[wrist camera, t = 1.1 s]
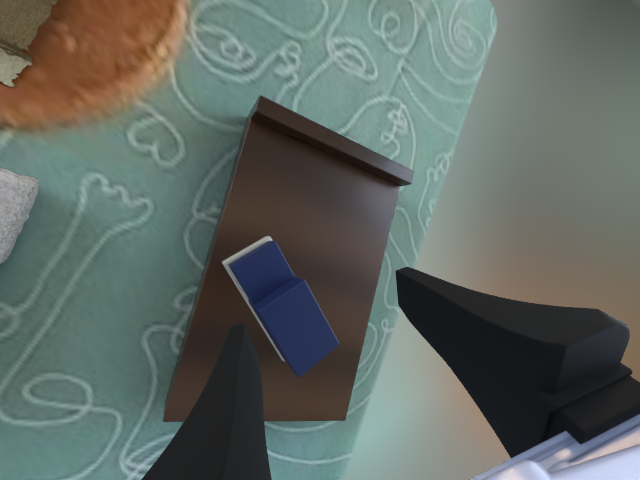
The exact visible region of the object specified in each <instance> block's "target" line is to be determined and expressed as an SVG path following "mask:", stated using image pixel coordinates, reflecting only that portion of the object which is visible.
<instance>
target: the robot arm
mask: <svg viewBox="0 0 640 480" xmlns="http://www.w3.org/2000/svg"><path fill="white" fill-rule="evenodd" d="M396 281H397V292H398V304H399V306H400V308H401V309H402V311H403V312H404V313H405V315H406V317H407V318H408V319H409V321H410V322H411V323H412V325H413V326H414V327H415V328H416V329H417V330H418V331H419V333H420V334H421V335H422V336H423V337H424V338H425V339H426V340H427V342H428V343H429V344H430V345H431V346H432V347H433V348H434V349H435V350H436V352H437V353H438V354H439V355H440V356H441V357H442V358H443V359H444V361H445V362H446V363H447V364H448V366H449V367H450V368H451V369H452V371H453V372H454V374H455V375H456V376H457V378H458V379H459V380H460V382H461V383H462V384H463V386H464V387H465V389H466V390H467V391H468V393H469V394H470V396H471V397H472V399H473V400H474V402H475V403H476V404H477V406H478V407H479V409H480V410H481V412H482V413H483V415H484V416H485V418H486V419H487V421H488V422H489V424H490V425H491V427H492V428H493V430H494V431H495V433H496V435H497V436H498V438H499V439H500V441H501V443H502V444H503V446H504V447H505V449H506V451H507V452H508V454H509V455H510V457H511V459H509V460H507V461H505V462H503V463H501V464H499V465H497V466H495V467H493V468H491V469H489V470H487V471H485V472H483V473H481V474H479V475H477V476H475V477H473V478H471V479H469V480H640V382H638V381H637V380H635V379H634V378H632V377H631V376H630V375H631V374H632V370H631V369H630V368H628V367H626V366H625V365H623V364H622V363H620V361H621V359H622V357H623V354H624V352H625V349H626V347H627V344H628V341H629V335H630V334H629V329H628V327H627V325H626V324H625V323H622V322H621V321H619V320H617V319H615V318H613V317H612V316H610V315H608V314H606V313H604V312H602V311H600V310H598V309H590V308H574V307H559V306H550V305H542V304H534V303H528V302H522V301H516V300H511V299H505V298H501V297H497V296H493V295H489V294H484V293H481V292H477V291H474V290H470V289H467V288H464V287H461V286H458V285H455V284H452V283H449V282H446V281H444V280H441V279H439V278H436V277H433V276H430V275H428V274H426V273H423V272H420V271H418V270H415V269H412V268H410V267H405V268H402V269H399V270H396ZM141 480H271V474H270V467H269V461H268V454H267V447H266V439H265V425H264V407H263V389H262V376H261V370H260V365H259V359H258V355H257V352H256V350H255V347H254V345H253V343H252V340H251V338H250V335H249V333H248V330H247V328H246V325H245V323H241V324H238V325H235V326H232V327H230V328H229V330H228V333H227V335H226V338H225V341H224V344H223V346H222V349H221V351H220V354H219V356H218V359H217V361H216V363H215V366H214V368H213V370H212V372H211V374H210V376H209V378H208V380H207V382H206V384H205V387H204V389H203V391H202V392H201V394H200V396H199V398H198V400H197V401H196V403H195V405H194V407H193V408H192V410H191V412H190V413H189V415H188V417H187V418H186V420H185V421H184V423H183V424H182V426H181V427H180V429H179V430H178V432H177V433H176V435H175V436H174V438H173V439H172V441H171V442H170V444H169V445H168V446H167V448H166V449H165V450H164V452H163V453H162V454H161V456H160V457H159V458H158V460H157V461H156V462H155V463H154V465H153V466H152V467H151V468H150V470H149V471H148V472H147V473H146V475H145V476H144V477H143V478H142V479H141Z"/></svg>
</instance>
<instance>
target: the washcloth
mask: <svg viewBox="0 0 640 480" xmlns="http://www.w3.org/2000/svg"><path fill="white" fill-rule="evenodd" d="M38 181H39V180H38V179H36V178H32V177H27V176H24V175H23V176H20V175H18V174H16V173H13V172H10V171H8V170H6V169H1V168H0V264H1V263H3V262H5V261H6V260H7V258H8V256H9V255H10V253H11V252H12V250H13V248H14V246H15V243H16V239H17V237H18V236H19V235H20V233H21V231H22V229H23V224H24V223H25V222H26V221H27V220H28V219H29V212H30V211H31V209H32V206H33V204H34V200H35V198H36V196H37V194H38V192H39V184H38Z"/></svg>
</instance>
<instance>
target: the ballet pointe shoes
mask: <svg viewBox="0 0 640 480" xmlns="http://www.w3.org/2000/svg"><path fill="white" fill-rule="evenodd" d="M57 1H58V0H0V82H3V83H4V84H5V85H8V86H10V87H14V84H13V83H12V79H16V77H18V76H17V75H16V74H15V73H21V71H22V69H24V68H25V67H26V66H27V64H28V65H32V62H31V60H32V58H31V57H30V56H29V55H27V54H26V53H24V52H22V51H21V50H22V49H25V50H29V49H28V47H27V46H28V45H30V44H31V40H32V39H35V38H34V37H35V34H37V27H39V26H40V25H41V24H44V23H45V21H46V19H47V18H48V17H49V16H50V13H51V12H52V11H51V10H50V9H49V8H50V7H53V4H56V2H57ZM40 23H41V24H40ZM39 28H40V27H39ZM33 67H34V66H33Z"/></svg>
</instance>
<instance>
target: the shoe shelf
mask: <svg viewBox="0 0 640 480" xmlns="http://www.w3.org/2000/svg"><path fill="white" fill-rule="evenodd" d="M413 176H414V171H412V170H410V169H408V168H406V167H404V166H402V165H400V164H398V163H396V162H394V161H392V160H390V159H388V158H386V157H384V156H382V155H380V154H378V153H376V152H374V151H372V150H370V149H368V148H366V147H364V146H362V145H360V144H358V143H356V142H354V141H352V140H350V139H348V138H346V137H344V136H342V135H340V134H338V133H336V132H334V131H332V130H330V129H328V128H326V127H324V126H322V125H319V124H317V123H315V122H313V121H311V120H309V119H307V118H305V117H303V116H301V115H299V114H297V113H295V112H293V111H291V110H289V109H287V108H285V107H283V106H281V105H279V104H277V103H275V102H273V101H271V100H269V99H267V98H265V97H263V96H261V95H260V96H259V97H258V99H257V101H256V103H255V105H254V106H253V108H252V110H251V112H250V113H249V115H248V117H247V121H246V124H245V128H244V131H243V134H242V138H241V141H240V145H239V148H238V152H237V155H236V159H235V162H234V165H233V169H232V172H231V176H230V179H229V183H228V186H227V190H226V193H225V197H224V200H223V203H222V207H221V210H220V214H219V217H218V221H217V224H216V228H215V231H214V235H213V238H212V241H211V245H210V248H209V252H208V255H207V259H206V262H205V266H204V269H203V273H202V276H201V279H200V283H199V286H198V290H197V293H196V297H195V300H194V304H193V307H192V310H191V314H190V317H189V321H188V324H187V328H186V331H185V335H184V338H183V342H182V345H181V348H180V352H179V355H178V359H177V362H176V366H175V369H174V373H173V376H172V380H171V383H170V386H169V390H168V393H167V397H166V400H165V408H164V417H163V422H184V421H185V420H186V418H187V417H188V415H189V413H190V412H191V410H192V408H193V407H194V405H195V403H196V401H197V400H198V398H199V396H200V394H201V392H202V391H203V389H204V387H205V384H206V382H207V380H208V378H209V376H210V374H211V372H212V370H213V368H214V366H215V363H216V361H217V359H218V356H219V354H220V351H221V349H222V346H223V344H224V341H225V338H226V335H227V333H228V330H229V328H230V327H232V326H235V325H238V324H241V323H245V325H246V328H247V330H248V333H249V335H250V338H251V340H252V343H253V345H254V347H255V350H256V352H257V355H258V359H259V365H260V370H261V376H262V389H263V407H264V421H343V420H345V419H346V415H347V410H348V406H349V402H350V398H351V393H352V389H353V385H354V381H355V376H356V372H357V368H358V363H359V359H360V355H361V351H362V346H363V342H364V338H365V333H366V329H367V325H368V321H369V316H370V312H371V308H372V304H373V299H374V295H375V291H376V286H377V282H378V278H379V274H380V269H381V265H382V261H383V257H384V252H385V248H386V244H387V239H388V235H389V231H390V227H391V222H392V218H393V214H394V210H395V205H396V201H397V197H398V192H399V188H400V186H405V185H410V184H412V180H413ZM266 236H270V237H271V239H272V241H276V243H277V244H278V246H279V248H280V250H281V252H282V253H283V255H284V257H285V259H286V261H287V263H288V264H289V266H290V268H291V270H292V272H293V273H294V275H295V276H296V277H299V278H301V279H304V280H305V281H306V283H307V285H308V286H309V288H310V290H311V292H312V294H313V296H314V298H315V299H316V301H317V303H318V305H319V307H320V309H321V310H322V312H323V314H324V316H325V318H326V320H327V321H328V323H329V325H330V327H331V329H332V331H333V332H334V334H335V336H336V338H337V340H338V342H339V345H338V346H337V347H336V348H335V349H333V350H332V351H331V352H330V353H329V354H327V355H326V356H325V357H324V358H322V359H321V360H320V361H319V362H318V363H316V364H315V365H314V366H313V367H312V368H310V369H309V370H308V371H307V372H305V373H304V374H303V375H302V376H301V377H299V378H298V377H297V376H296V374H295V373H294V372H293V370H292V369H291V368H290V367H289V365H288V364H287V363H286V361H283V360H282V359H281V358H280V356H279V355H278V353H277V352H276V350H275V348H274V347H273V345H272V344H271V342H270V340H269V339H268V337H267V335H266V334H265V332H264V330H263V329H262V327H261V326H260V324H259V322H258V321H257V319H256V317H255V316H254V314H253V313H252V311H251V309H250V308H249V306H248V304H247V303H246V301H245V300H244V298H243V296H242V295H241V293H240V291H239V290H238V288H237V287H236V285H235V283H234V282H233V280H232V278H231V277H230V275H229V274H228V272H227V270H226V269H225V267H224V265H223V264H222V261H224V260H226V259H227V258H229V257H231V256H233V255H234V254H236V253H238V252H240V251H241V250H243V249H245V248H247V247H248V246H250V245H252V244H253V243H255V242H257V241H259V240H260V239H262V238H264V237H266Z"/></svg>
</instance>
